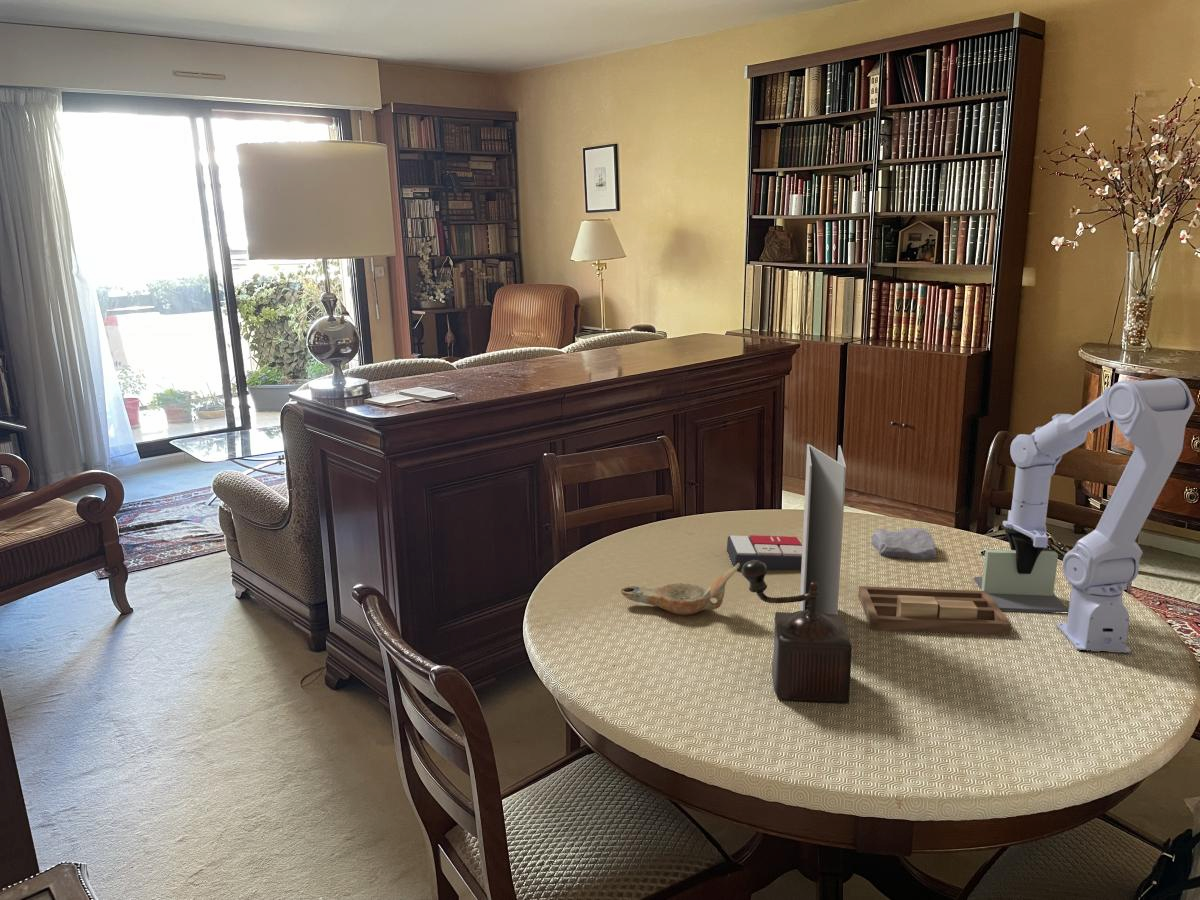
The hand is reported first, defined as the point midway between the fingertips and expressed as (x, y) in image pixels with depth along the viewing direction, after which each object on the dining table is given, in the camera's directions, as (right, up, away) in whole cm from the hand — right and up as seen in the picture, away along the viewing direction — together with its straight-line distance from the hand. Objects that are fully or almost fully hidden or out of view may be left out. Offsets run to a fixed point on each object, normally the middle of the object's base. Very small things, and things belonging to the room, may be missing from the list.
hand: (1021, 570), depth 156 cm
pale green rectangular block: (0, -4, +1) cm, 4 cm away
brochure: (-40, -8, -8) cm, 41 cm away
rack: (-19, -7, -6) cm, 21 cm away
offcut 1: (-23, -8, -9) cm, 26 cm away
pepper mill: (-48, -13, -27) cm, 57 cm away
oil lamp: (-63, -7, -2) cm, 63 cm away
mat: (0, -5, +1) cm, 5 cm away
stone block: (-13, 0, +24) cm, 27 cm away
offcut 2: (-16, -8, -10) cm, 21 cm away
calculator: (-43, -1, +20) cm, 47 cm away
